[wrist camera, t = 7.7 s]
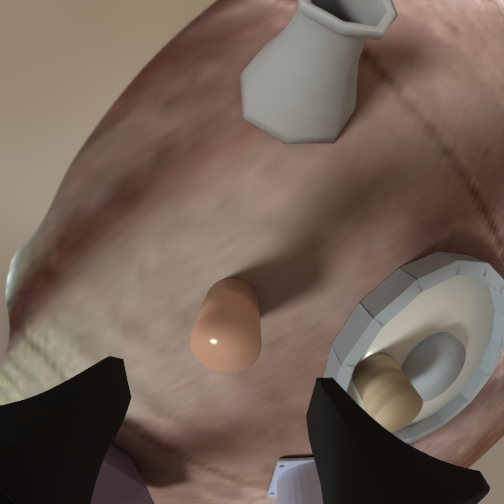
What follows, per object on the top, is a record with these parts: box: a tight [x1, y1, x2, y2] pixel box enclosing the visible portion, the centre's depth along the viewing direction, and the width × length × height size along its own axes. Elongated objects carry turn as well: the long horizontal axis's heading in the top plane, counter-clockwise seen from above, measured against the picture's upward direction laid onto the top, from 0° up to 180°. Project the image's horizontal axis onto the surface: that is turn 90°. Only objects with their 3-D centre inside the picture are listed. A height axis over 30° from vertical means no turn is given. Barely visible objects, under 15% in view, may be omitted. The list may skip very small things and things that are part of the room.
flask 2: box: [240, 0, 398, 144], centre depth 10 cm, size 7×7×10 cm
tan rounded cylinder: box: [352, 352, 423, 433], centre depth 15 cm, size 3×3×5 cm
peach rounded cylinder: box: [190, 278, 261, 373], centre depth 15 cm, size 3×3×5 cm
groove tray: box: [323, 252, 504, 444], centre depth 17 cm, size 18×18×2 cm
